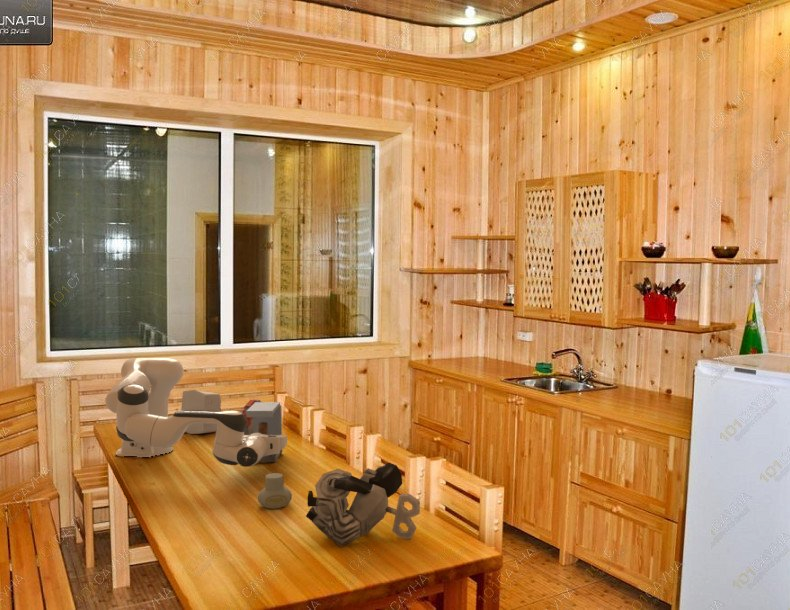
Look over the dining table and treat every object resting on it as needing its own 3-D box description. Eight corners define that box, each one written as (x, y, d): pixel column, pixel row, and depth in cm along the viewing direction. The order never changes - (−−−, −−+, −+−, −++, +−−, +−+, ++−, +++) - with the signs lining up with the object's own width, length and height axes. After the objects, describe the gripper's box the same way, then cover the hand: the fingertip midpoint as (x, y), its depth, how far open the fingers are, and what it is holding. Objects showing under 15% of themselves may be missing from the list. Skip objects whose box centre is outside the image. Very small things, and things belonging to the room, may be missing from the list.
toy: (293, 524, 219) (367, 471, 237) (362, 592, 202) (437, 529, 219) (288, 476, 207) (367, 423, 224) (362, 544, 189) (441, 482, 206)
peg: (257, 455, 283) (257, 424, 282) (259, 452, 286) (259, 422, 286) (267, 455, 283) (266, 424, 282) (268, 452, 286) (268, 422, 285)
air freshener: (258, 512, 232) (258, 481, 231) (256, 503, 240) (255, 473, 239) (293, 508, 235) (292, 477, 234) (290, 500, 243) (289, 470, 242)
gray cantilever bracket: (246, 465, 283) (245, 411, 281) (255, 453, 299) (254, 402, 297) (275, 465, 283) (273, 410, 281) (282, 453, 299) (281, 402, 297)
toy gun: (238, 445, 325) (232, 415, 319) (258, 420, 342) (252, 392, 337) (246, 445, 324) (240, 416, 318) (266, 421, 341) (260, 393, 336)
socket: (249, 463, 286) (249, 456, 286) (255, 455, 296) (255, 449, 296) (275, 463, 286) (275, 456, 285) (279, 455, 296) (279, 449, 295)
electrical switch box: (226, 433, 341) (229, 390, 342) (202, 436, 329) (205, 391, 330) (203, 430, 349) (207, 387, 350) (179, 432, 337) (183, 388, 338)
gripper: (228, 454, 272) (237, 444, 285) (283, 453, 271) (289, 444, 285) (227, 437, 271) (236, 428, 285) (283, 436, 271) (289, 428, 285)
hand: (263, 436), depth 285 cm, fingers closed on peg, 4 cm apart
